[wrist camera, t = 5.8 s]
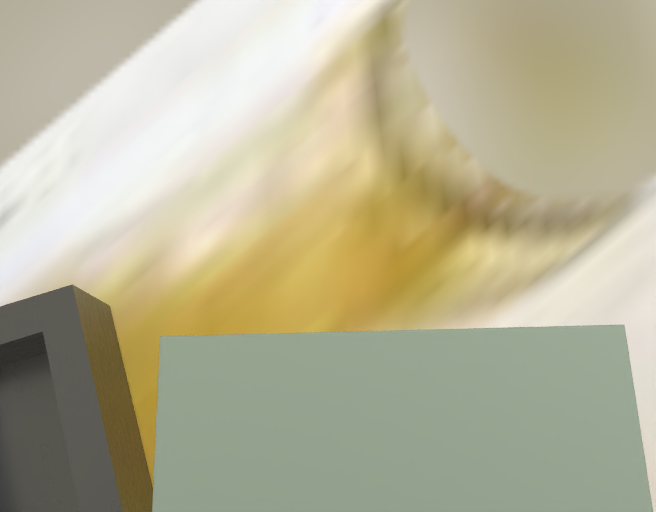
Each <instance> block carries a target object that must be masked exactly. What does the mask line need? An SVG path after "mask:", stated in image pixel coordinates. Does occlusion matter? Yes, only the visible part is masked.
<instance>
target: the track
mask: <svg viewBox="0 0 656 512" xmlns="http://www.w3.org/2000/svg"><path fill="white" fill-rule="evenodd" d="M152 505H153V488H152V483H151V479H150V475H149V471H148V466H147V462H146V458H145V454H144V449H143V445H142V441H141V437H140V432H139V428H138V424H137V420H136V415H135V411H134V407H133V403H132V398H131V394H130V390H129V386H128V382H127V377H126V373H125V369H124V365H123V360H122V356H121V352H120V348H119V343H118V339H117V335H116V331H115V326H114V322H113V318H112V314H111V309H110V306H109V305H107V304H106V303H104V302H102V301H100V300H99V299H97V298H95V297H93V296H91V295H90V294H88V293H86V292H84V291H83V290H81V289H79V288H77V287H76V286H74V285H69V286H66V287H63V288H60V289H56V290H53V291H50V292H47V293H43V294H40V295H37V296H33V297H30V298H27V299H24V300H20V301H17V302H14V303H11V304H7V305H4V306H1V307H0V512H152Z"/></svg>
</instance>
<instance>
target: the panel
mask: <svg viewBox="0 0 656 512" xmlns="http://www.w3.org/2000/svg"><path fill="white" fill-rule="evenodd" d="M152 512H653V508H652V502H651V495H650V489H649V482H648V476H647V469H646V463H645V456H644V450H643V443H642V437H641V430H640V424H639V417H638V411H637V404H636V398H635V391H634V385H633V378H632V372H631V365H630V359H629V352H628V346H627V339H626V333H625V326H624V325H593V326H553V327H514V328H474V329H435V330H395V331H356V332H316V333H277V334H237V335H197V336H160V355H159V376H158V398H157V419H156V441H155V462H154V484H153V505H152Z"/></svg>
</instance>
